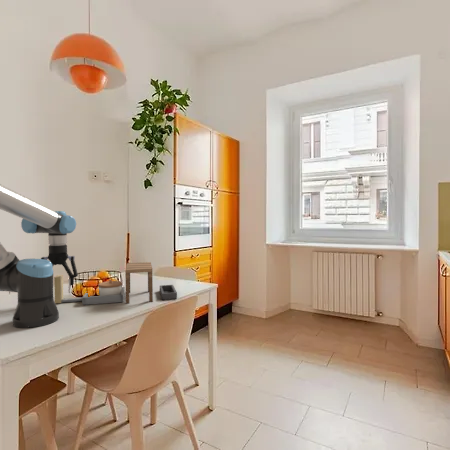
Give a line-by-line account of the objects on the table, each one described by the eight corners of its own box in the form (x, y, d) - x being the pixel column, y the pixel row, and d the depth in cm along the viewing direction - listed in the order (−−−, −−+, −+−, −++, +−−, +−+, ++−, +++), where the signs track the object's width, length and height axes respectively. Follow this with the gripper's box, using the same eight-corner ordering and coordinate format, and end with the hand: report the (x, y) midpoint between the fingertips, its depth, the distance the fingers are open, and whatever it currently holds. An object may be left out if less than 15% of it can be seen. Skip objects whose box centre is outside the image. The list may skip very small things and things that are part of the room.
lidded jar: (94, 299, 150) (94, 280, 150) (115, 295, 158) (115, 276, 157) (105, 303, 143) (104, 283, 142) (126, 299, 150) (126, 279, 150)
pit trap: (176, 298, 150) (176, 292, 150) (162, 299, 148) (162, 293, 148) (172, 290, 168) (172, 284, 167) (159, 291, 166) (159, 285, 166)
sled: (123, 301, 144) (122, 276, 144) (51, 307, 136) (50, 279, 136) (124, 293, 160) (124, 270, 160) (60, 297, 152) (59, 273, 152)
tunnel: (152, 301, 146) (152, 268, 145) (125, 303, 142) (125, 269, 142) (150, 291, 166) (150, 262, 165) (127, 292, 163) (127, 263, 162)
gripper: (84, 243, 150) (85, 289, 151) (34, 244, 144) (35, 292, 145) (81, 244, 143) (82, 293, 144) (28, 245, 137) (29, 296, 138)
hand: (58, 293), depth 144 cm, fingers open, 9 cm apart
